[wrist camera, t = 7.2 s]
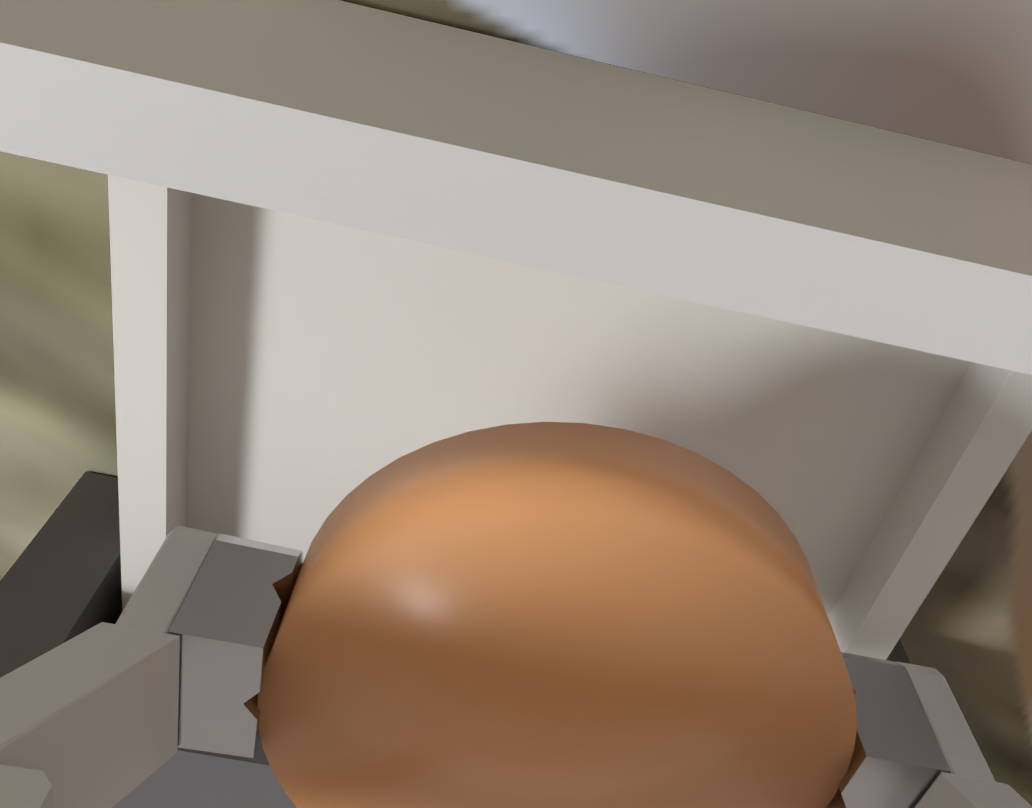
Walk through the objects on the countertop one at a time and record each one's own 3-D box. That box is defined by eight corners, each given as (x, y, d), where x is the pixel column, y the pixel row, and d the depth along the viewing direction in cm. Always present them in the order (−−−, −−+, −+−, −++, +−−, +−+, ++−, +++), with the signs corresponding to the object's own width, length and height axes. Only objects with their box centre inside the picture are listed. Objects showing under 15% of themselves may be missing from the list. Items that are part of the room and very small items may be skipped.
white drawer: (37, -72, 13) (-318, -30, 7) (1183, 200, 14) (1545, 392, 9) (81, 590, 20) (-88, 847, 14) (845, 728, 21) (939, 1007, 16)
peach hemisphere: (321, 365, 9) (279, 455, 8) (911, 488, 9) (970, 593, 8) (277, 754, 12) (242, 865, 11) (714, 830, 13) (734, 946, 11)
